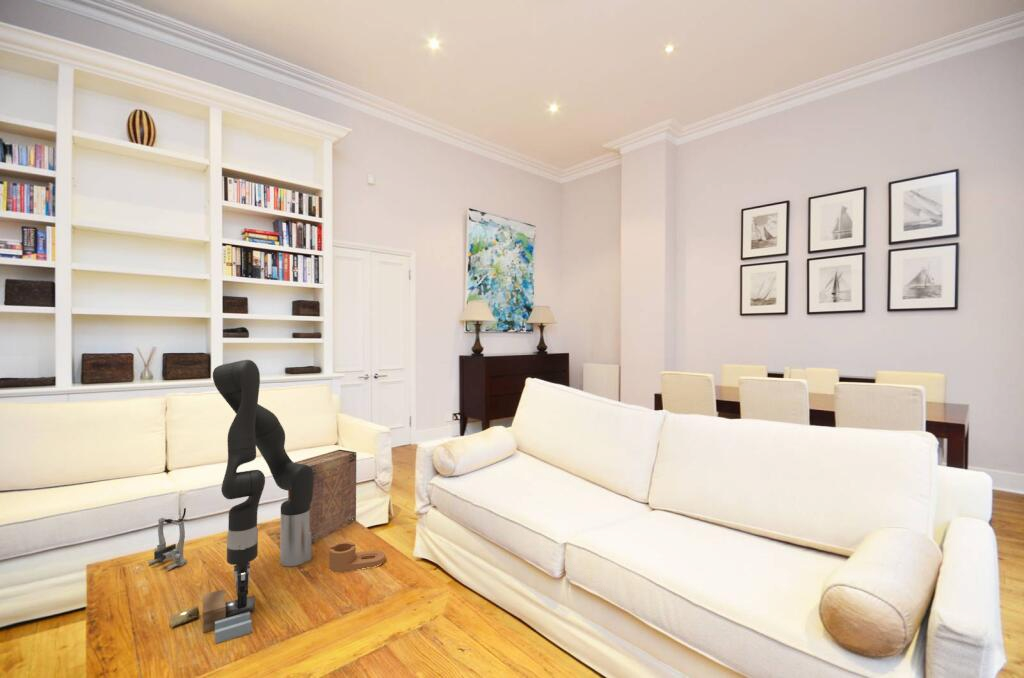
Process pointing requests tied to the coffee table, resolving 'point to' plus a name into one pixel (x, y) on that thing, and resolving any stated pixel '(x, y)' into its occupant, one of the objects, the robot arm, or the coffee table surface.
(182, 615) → the cylinder
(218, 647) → the coffee table surface
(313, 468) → the book
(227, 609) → the axle
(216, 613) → the beam
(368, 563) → the bracket
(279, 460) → the robot arm
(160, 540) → the bike brake
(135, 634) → the coffee table surface
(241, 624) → the cradle
